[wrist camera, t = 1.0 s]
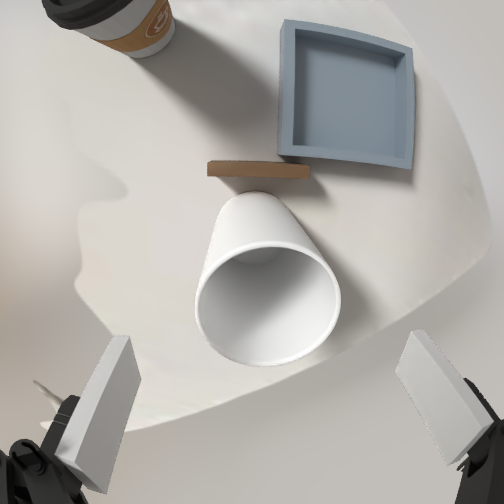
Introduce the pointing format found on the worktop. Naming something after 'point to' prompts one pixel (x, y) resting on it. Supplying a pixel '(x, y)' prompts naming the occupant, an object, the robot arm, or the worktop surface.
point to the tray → (345, 96)
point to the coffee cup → (117, 23)
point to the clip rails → (258, 169)
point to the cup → (264, 285)
